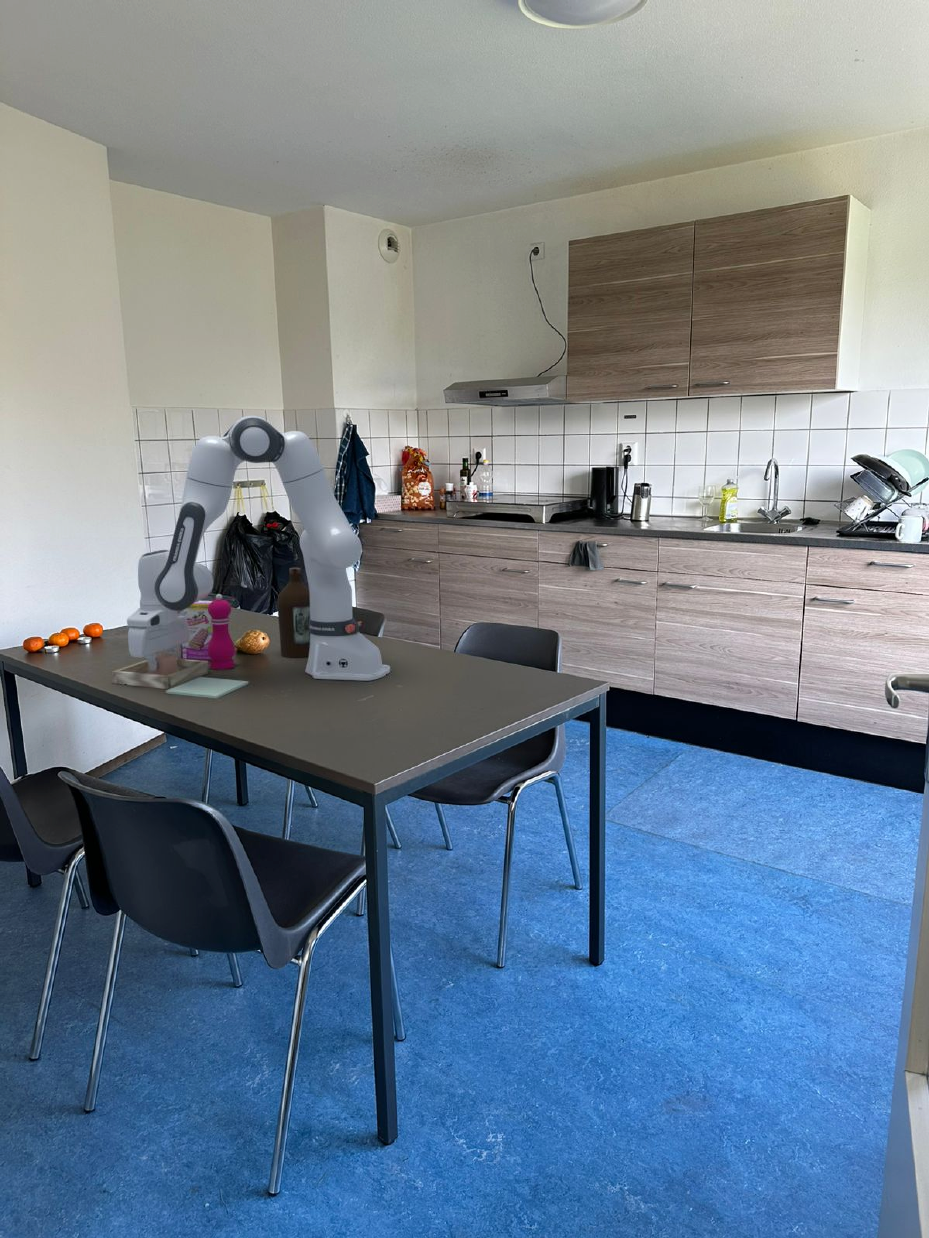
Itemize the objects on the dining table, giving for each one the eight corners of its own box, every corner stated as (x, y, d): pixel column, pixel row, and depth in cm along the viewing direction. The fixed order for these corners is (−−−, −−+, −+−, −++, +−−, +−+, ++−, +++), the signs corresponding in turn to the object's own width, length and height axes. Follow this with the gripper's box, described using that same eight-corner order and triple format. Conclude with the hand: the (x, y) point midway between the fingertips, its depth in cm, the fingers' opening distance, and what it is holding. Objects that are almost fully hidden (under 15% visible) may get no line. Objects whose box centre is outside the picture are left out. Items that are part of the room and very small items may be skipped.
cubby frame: (209, 672, 228) (208, 661, 228) (168, 689, 212) (167, 677, 212) (156, 667, 233) (156, 656, 233) (112, 683, 217) (111, 671, 216)
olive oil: (271, 653, 250) (268, 568, 245) (302, 648, 257) (300, 564, 252) (292, 660, 242) (289, 571, 238) (323, 654, 249) (321, 568, 245)
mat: (248, 683, 217) (248, 681, 217) (216, 698, 204) (216, 696, 204) (200, 679, 222) (200, 676, 221) (166, 693, 208) (165, 690, 208)
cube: (177, 673, 224) (176, 654, 223) (165, 678, 220) (163, 659, 219) (161, 671, 226) (159, 653, 225) (148, 676, 221) (147, 657, 220)
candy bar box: (180, 660, 241) (177, 602, 238) (187, 656, 246) (184, 599, 243) (219, 661, 240) (216, 603, 237) (225, 657, 245) (223, 600, 242)
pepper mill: (228, 670, 230) (225, 596, 226) (203, 669, 232) (199, 595, 228) (240, 664, 237) (237, 592, 233) (216, 663, 239) (212, 591, 235)
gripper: (173, 606, 230) (177, 657, 233) (121, 620, 211) (126, 675, 214) (194, 607, 229) (197, 658, 231) (143, 622, 209) (147, 677, 212)
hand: (162, 666), depth 222 cm, fingers closed on cube, 5 cm apart
